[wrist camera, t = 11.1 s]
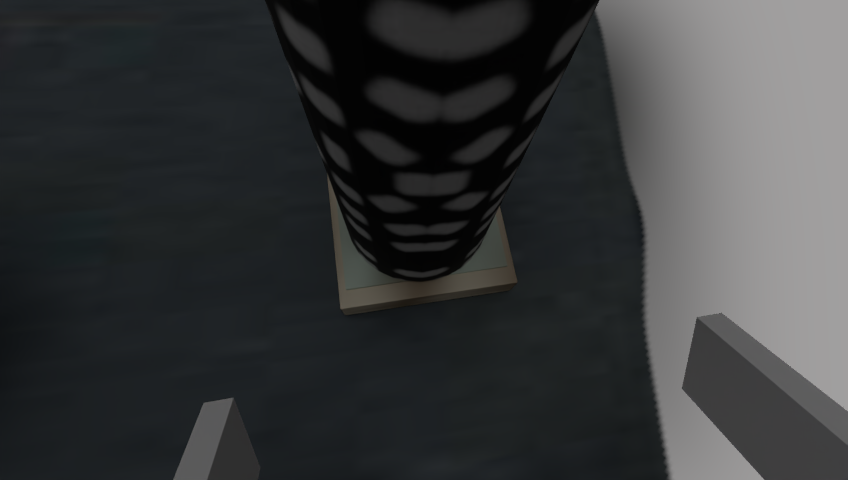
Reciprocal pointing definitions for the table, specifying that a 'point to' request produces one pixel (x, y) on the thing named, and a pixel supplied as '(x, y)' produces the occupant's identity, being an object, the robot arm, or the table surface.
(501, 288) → the beige rectangular board
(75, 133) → the table surface
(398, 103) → the white-spotted black cylinder
